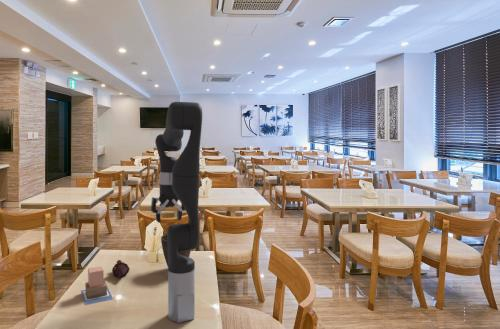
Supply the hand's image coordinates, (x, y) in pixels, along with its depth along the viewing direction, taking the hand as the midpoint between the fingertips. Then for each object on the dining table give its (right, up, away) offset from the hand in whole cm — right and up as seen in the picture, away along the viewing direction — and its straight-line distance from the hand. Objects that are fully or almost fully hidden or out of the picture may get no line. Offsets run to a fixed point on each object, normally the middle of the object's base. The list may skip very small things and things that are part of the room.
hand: (169, 221), depth 150 cm
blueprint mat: (-27, -28, -7) cm, 40 cm away
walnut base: (-28, -28, -7) cm, 40 cm away
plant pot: (-1, -27, +21) cm, 34 cm away
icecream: (-24, -27, +11) cm, 38 cm away
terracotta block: (-28, -24, -7) cm, 37 cm away
